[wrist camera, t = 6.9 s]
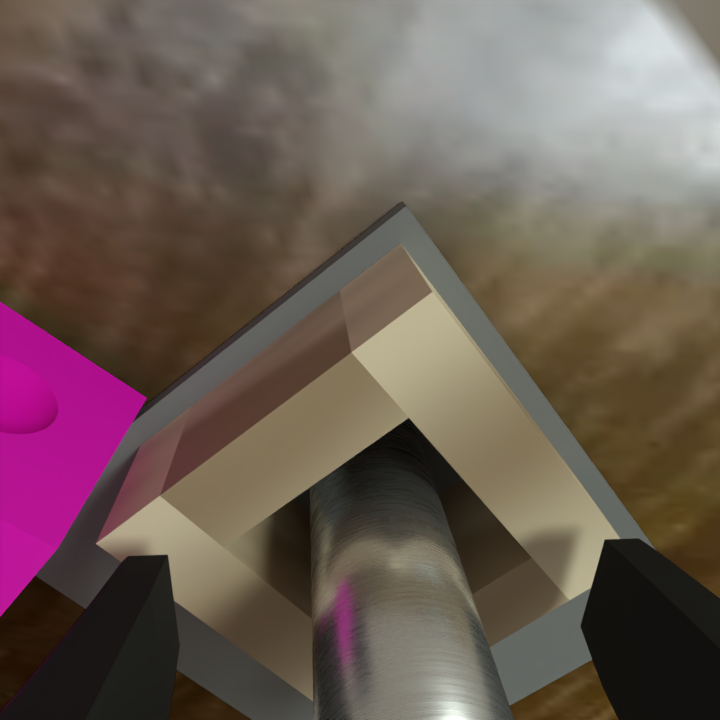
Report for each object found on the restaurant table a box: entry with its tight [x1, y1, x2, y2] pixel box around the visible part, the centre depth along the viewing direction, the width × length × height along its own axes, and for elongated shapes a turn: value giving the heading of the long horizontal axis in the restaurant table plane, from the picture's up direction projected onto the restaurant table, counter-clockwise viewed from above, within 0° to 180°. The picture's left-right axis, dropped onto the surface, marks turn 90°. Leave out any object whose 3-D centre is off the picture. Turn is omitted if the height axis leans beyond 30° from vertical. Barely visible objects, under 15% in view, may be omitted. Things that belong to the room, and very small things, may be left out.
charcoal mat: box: [35, 202, 655, 720], centre depth 15 cm, size 14×12×1 cm
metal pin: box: [310, 421, 514, 720], centre depth 9 cm, size 3×3×8 cm
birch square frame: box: [96, 243, 620, 701], centre depth 12 cm, size 7×7×3 cm
